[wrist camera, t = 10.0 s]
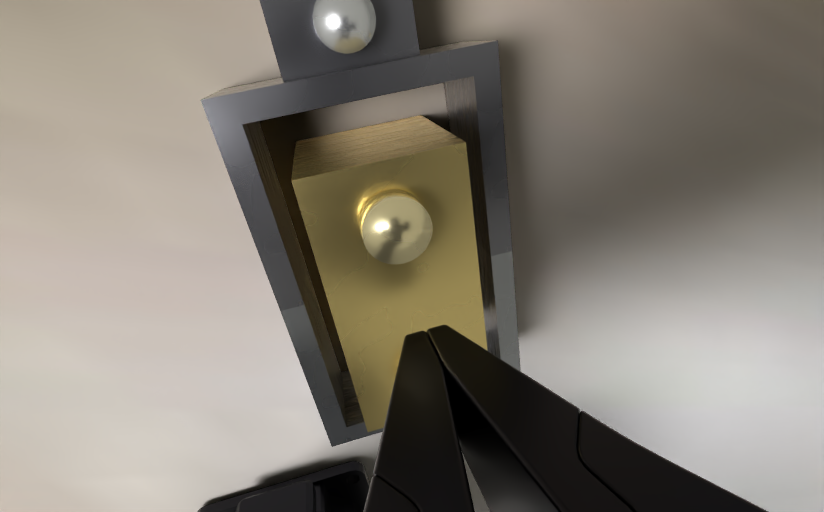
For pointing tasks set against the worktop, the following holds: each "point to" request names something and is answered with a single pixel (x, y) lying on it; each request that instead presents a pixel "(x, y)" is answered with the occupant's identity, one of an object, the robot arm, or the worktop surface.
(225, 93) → the open rectangular frame
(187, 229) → the worktop surface
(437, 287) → the gold block with knobs
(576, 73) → the worktop surface
